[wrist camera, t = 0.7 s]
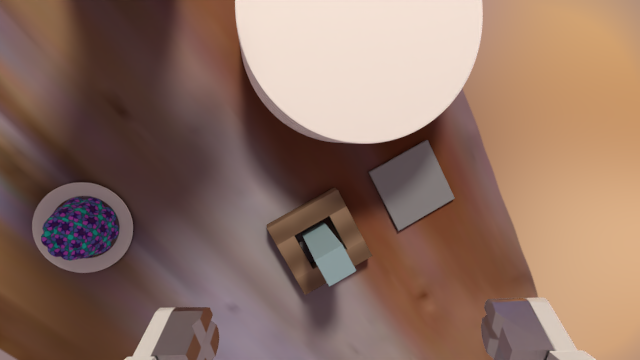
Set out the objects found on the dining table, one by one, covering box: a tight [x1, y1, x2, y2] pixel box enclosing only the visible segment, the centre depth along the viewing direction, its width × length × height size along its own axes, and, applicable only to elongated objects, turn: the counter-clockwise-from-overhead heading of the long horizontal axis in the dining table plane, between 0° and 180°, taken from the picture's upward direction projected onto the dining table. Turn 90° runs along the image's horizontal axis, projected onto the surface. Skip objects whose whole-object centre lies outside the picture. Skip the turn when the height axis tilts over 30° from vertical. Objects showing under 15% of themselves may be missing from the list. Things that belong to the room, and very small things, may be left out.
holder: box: [267, 188, 372, 295], centre depth 53 cm, size 11×11×2 cm
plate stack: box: [235, 0, 483, 144], centre depth 46 cm, size 28×28×12 cm
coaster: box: [368, 140, 454, 231], centre depth 55 cm, size 10×10×1 cm
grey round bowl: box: [32, 182, 133, 273], centre depth 46 cm, size 12×12×5 cm
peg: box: [302, 222, 356, 287], centre depth 48 cm, size 4×4×12 cm
